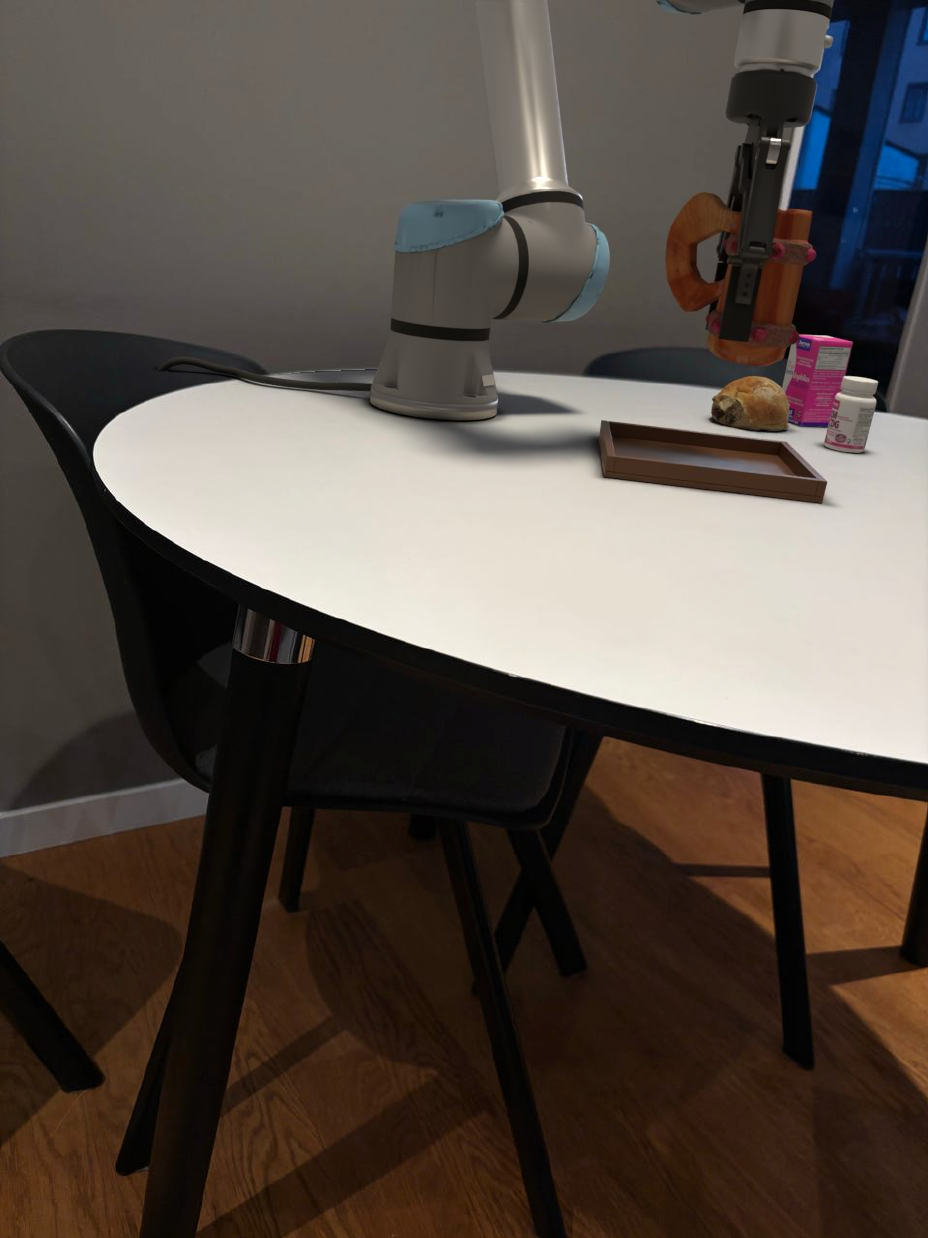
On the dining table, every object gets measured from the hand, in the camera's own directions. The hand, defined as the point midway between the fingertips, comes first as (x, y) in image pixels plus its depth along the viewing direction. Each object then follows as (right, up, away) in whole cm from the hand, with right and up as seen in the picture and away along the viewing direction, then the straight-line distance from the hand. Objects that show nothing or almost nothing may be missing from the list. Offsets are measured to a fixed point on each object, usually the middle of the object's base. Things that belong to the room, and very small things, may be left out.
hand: (725, 335), depth 96 cm
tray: (-1, -12, +5) cm, 13 cm away
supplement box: (+21, -1, +39) cm, 45 cm away
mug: (0, -2, +2) cm, 3 cm away
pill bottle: (+21, -7, +24) cm, 32 cm away
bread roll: (+12, -2, +33) cm, 36 cm away
